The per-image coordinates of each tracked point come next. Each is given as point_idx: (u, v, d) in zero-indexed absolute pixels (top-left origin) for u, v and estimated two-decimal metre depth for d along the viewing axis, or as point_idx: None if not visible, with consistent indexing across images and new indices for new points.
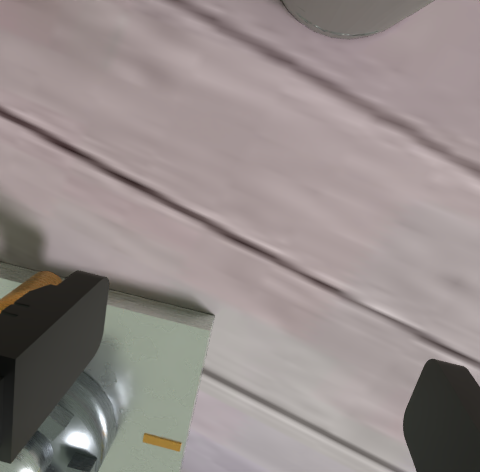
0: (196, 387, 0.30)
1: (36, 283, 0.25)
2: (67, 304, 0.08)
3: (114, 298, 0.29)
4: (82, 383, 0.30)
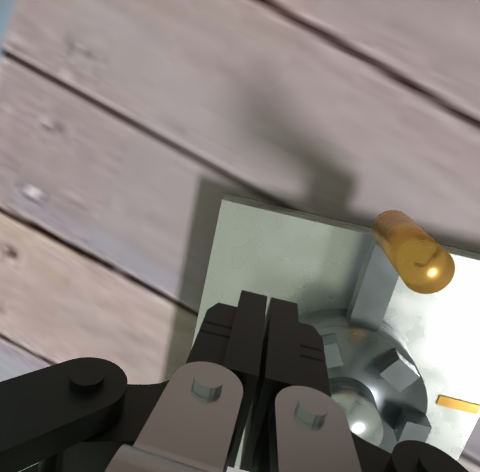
0: None
1: (407, 218, 0.24)
2: (259, 323, 0.09)
3: None
4: (397, 337, 0.28)
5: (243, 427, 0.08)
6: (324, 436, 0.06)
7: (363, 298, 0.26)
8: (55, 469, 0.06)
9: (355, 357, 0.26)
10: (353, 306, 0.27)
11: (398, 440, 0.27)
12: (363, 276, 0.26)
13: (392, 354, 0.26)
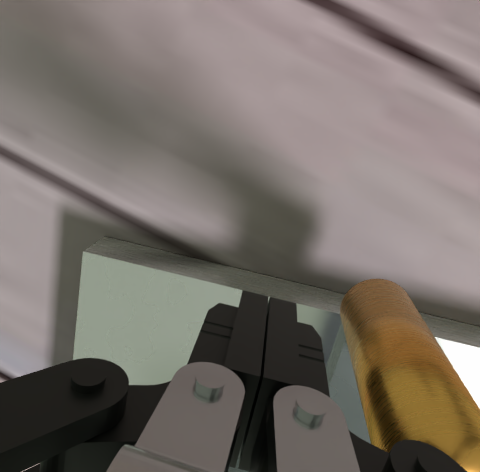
0: None
1: (403, 303, 0.12)
2: (260, 323, 0.09)
3: (447, 329, 0.16)
4: None
5: (241, 427, 0.08)
6: (322, 436, 0.06)
7: None
8: (56, 470, 0.06)
9: None
10: None
11: None
12: None
13: None
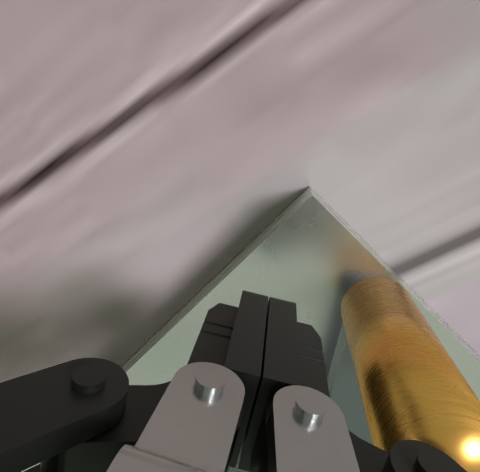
0: None
1: (401, 300, 0.12)
2: (260, 323, 0.09)
3: (186, 309, 0.18)
4: None
5: (241, 427, 0.08)
6: (322, 435, 0.06)
7: None
8: (57, 470, 0.06)
9: None
10: None
11: None
12: None
13: None
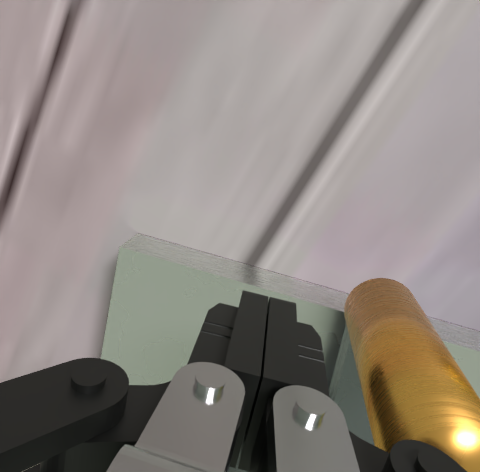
0: (241, 284, 0.16)
1: (404, 301, 0.12)
2: (260, 323, 0.09)
3: None
4: None
5: (241, 427, 0.08)
6: (322, 436, 0.06)
7: None
8: (57, 470, 0.06)
9: None
10: None
11: None
12: (332, 399, 0.14)
13: None
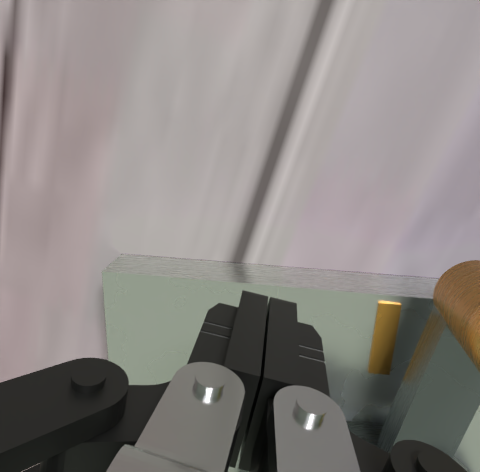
0: (228, 283, 0.16)
1: None
2: (260, 323, 0.09)
3: None
4: None
5: (242, 427, 0.08)
6: (323, 436, 0.06)
7: (414, 425, 0.14)
8: (56, 470, 0.06)
9: None
10: (393, 436, 0.14)
11: None
12: (415, 385, 0.14)
13: None
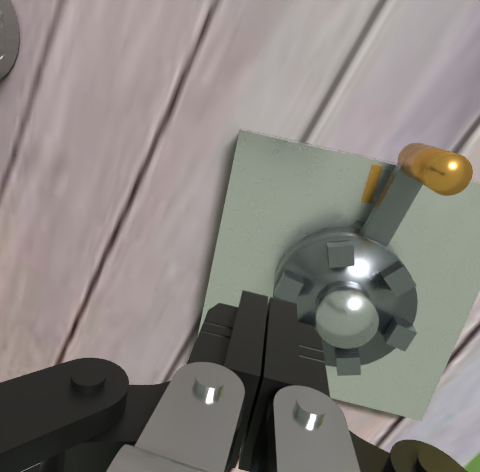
0: (302, 145, 0.32)
1: None
2: (260, 323, 0.09)
3: None
4: (399, 258, 0.33)
5: (242, 427, 0.08)
6: (322, 436, 0.06)
7: (380, 215, 0.30)
8: (56, 470, 0.06)
9: (364, 264, 0.31)
10: (369, 222, 0.31)
11: (386, 341, 0.31)
12: (383, 196, 0.30)
13: (396, 264, 0.30)
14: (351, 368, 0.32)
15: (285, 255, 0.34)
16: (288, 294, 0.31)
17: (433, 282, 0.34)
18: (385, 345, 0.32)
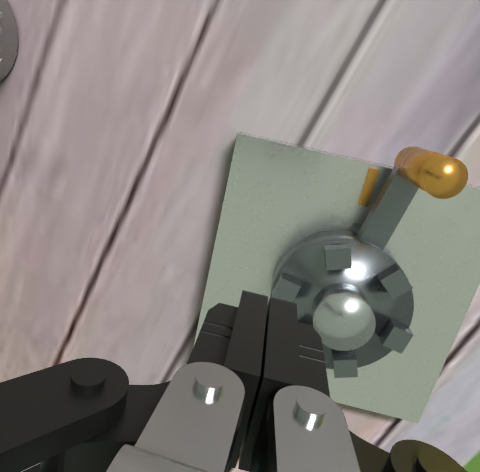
0: (299, 148, 0.32)
1: None
2: (260, 323, 0.09)
3: None
4: None
5: (242, 427, 0.08)
6: (322, 436, 0.06)
7: (376, 218, 0.31)
8: (56, 470, 0.06)
9: (361, 267, 0.31)
10: (366, 224, 0.31)
11: (383, 343, 0.31)
12: (380, 199, 0.30)
13: (393, 267, 0.30)
14: (348, 371, 0.32)
15: (282, 258, 0.34)
16: (285, 296, 0.31)
17: (429, 284, 0.34)
18: (382, 347, 0.33)
